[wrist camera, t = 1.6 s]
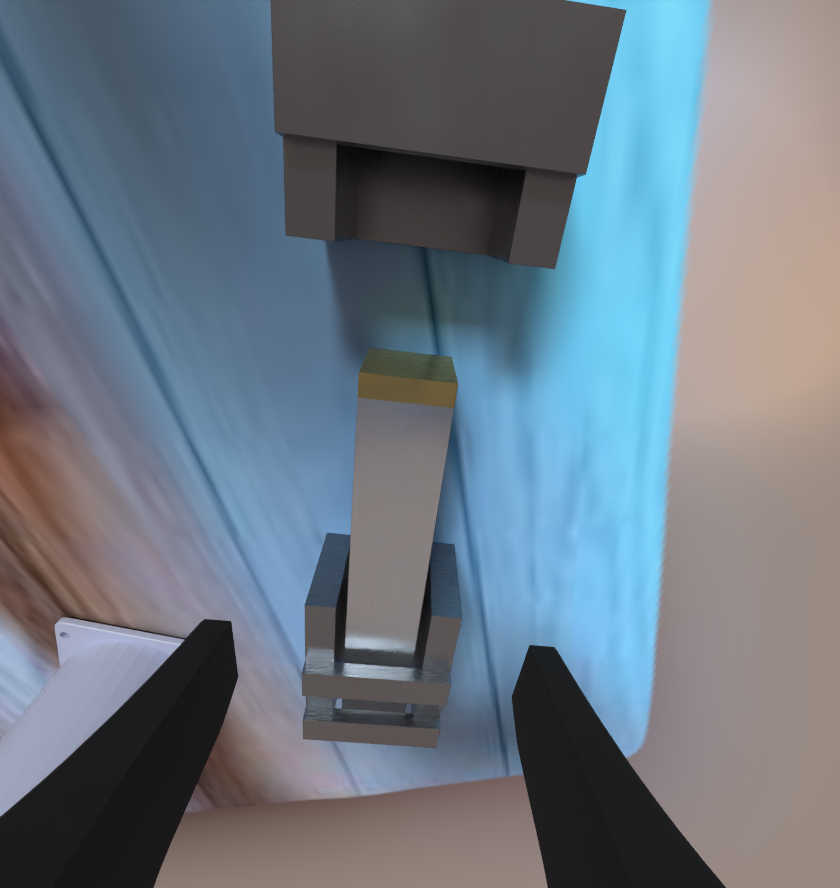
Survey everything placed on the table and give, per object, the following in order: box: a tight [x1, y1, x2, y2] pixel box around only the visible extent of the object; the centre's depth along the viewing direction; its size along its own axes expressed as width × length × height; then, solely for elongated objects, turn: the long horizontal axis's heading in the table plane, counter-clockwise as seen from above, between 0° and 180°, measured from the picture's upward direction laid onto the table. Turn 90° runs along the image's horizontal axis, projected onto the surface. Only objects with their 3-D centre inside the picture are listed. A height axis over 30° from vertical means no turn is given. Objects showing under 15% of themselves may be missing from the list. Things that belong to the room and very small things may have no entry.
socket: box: [271, 0, 626, 269], centre depth 11 cm, size 5×7×5 cm
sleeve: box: [302, 533, 462, 748], centre depth 20 cm, size 8×6×5 cm
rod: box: [342, 348, 458, 713], centre depth 18 cm, size 18×3×3 cm, turn 173°
